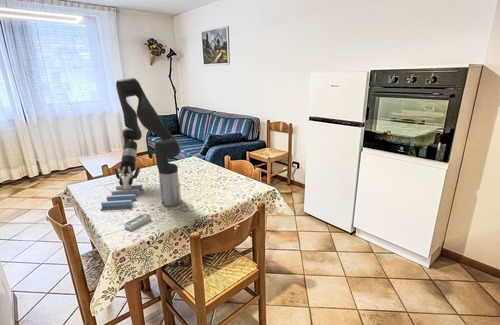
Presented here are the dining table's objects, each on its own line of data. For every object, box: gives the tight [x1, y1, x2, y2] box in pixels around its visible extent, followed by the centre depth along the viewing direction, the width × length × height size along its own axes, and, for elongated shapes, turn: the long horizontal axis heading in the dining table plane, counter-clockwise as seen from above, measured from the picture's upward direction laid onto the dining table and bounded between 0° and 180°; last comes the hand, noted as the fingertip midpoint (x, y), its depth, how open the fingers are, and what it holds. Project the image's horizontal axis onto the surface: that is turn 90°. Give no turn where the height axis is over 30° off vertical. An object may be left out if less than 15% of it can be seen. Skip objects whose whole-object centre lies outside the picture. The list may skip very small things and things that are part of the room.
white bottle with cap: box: [122, 174, 132, 190], centre depth 149 cm, size 4×4×10 cm
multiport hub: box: [123, 213, 152, 231], centre depth 120 cm, size 4×11×2 cm, turn 151°
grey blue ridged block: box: [100, 183, 144, 212], centre depth 144 cm, size 14×26×4 cm, turn 7°
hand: (125, 185), depth 147 cm, fingers closed on white bottle with cap, 4 cm apart
